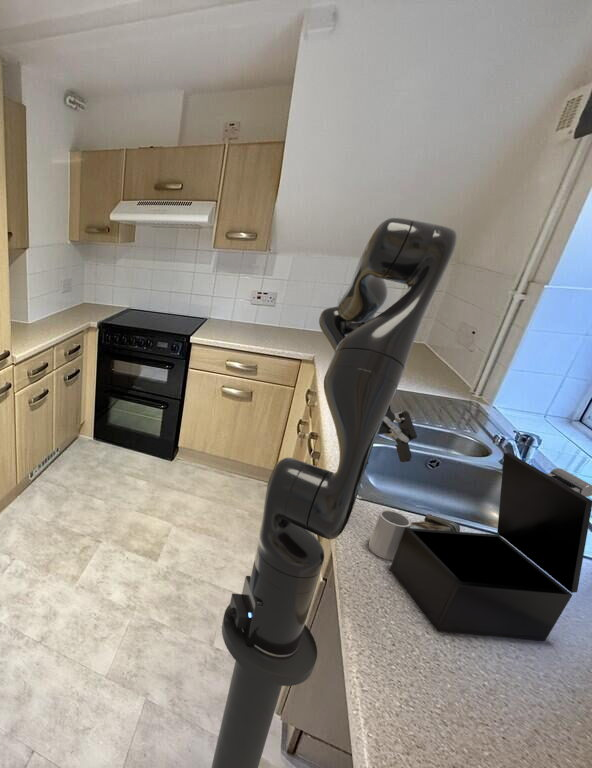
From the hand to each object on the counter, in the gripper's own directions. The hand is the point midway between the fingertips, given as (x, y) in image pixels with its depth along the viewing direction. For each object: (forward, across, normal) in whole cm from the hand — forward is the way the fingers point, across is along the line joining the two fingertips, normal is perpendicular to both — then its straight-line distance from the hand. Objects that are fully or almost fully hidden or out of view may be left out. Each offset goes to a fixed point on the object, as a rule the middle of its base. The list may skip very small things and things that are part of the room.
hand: (384, 463), depth 86 cm
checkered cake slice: (+17, +10, +10) cm, 22 cm away
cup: (+18, -2, +6) cm, 19 cm away
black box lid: (+11, +12, -15) cm, 22 cm away
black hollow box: (+26, +4, -4) cm, 26 cm away
